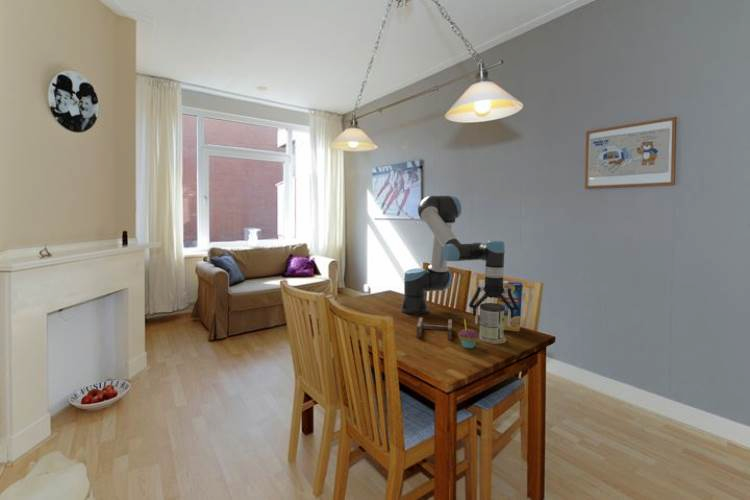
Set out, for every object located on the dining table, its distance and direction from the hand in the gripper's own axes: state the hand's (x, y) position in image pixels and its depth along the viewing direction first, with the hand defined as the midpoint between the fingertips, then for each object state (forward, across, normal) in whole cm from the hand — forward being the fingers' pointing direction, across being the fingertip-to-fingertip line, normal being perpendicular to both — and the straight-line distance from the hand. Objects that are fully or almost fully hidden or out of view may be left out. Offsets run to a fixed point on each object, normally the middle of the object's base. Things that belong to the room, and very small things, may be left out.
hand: (492, 324), depth 158 cm
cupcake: (+7, -10, -11) cm, 16 cm away
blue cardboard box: (+7, +9, +17) cm, 20 cm away
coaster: (+7, 0, 0) cm, 7 cm away
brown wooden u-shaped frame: (+7, -25, +2) cm, 26 cm away
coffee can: (+6, 0, 0) cm, 6 cm away
